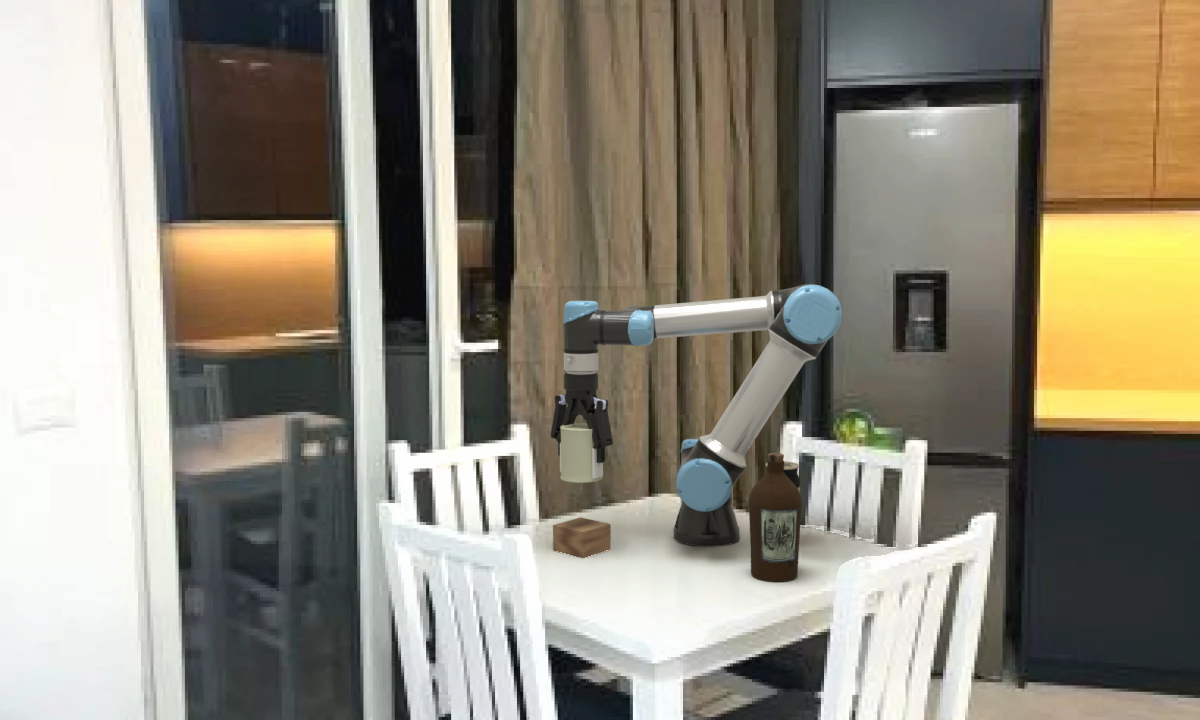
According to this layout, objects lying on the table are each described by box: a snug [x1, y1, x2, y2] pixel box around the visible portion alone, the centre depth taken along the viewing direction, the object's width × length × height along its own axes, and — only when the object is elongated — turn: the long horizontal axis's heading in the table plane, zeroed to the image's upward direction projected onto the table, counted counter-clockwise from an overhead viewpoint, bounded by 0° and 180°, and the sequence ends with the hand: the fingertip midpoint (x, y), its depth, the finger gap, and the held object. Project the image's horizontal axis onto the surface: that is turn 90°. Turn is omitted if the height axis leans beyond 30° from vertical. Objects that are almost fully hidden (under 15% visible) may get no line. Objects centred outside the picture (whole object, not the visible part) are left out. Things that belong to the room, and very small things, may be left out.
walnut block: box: [552, 516, 612, 559], centre depth 237 cm, size 9×9×6 cm
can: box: [560, 422, 603, 484], centre depth 235 cm, size 9×9×12 cm
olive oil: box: [748, 452, 803, 583], centre depth 217 cm, size 11×11×25 cm
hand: (581, 474), depth 235 cm, fingers closed on can, 9 cm apart
